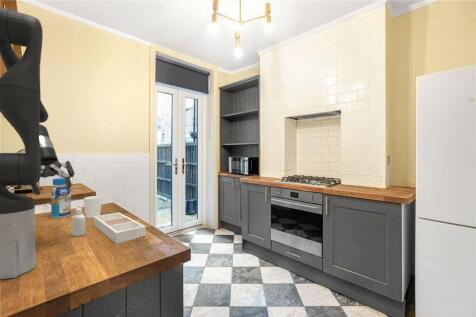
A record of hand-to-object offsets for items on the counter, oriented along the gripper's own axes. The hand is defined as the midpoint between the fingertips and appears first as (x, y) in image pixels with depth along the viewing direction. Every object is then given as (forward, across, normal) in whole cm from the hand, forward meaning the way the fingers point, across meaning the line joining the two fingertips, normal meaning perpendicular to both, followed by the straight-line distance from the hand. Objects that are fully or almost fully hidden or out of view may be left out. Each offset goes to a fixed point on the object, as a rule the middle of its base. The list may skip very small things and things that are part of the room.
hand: (54, 191), depth 79 cm
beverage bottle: (-5, +9, +52) cm, 53 cm away
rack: (+19, +19, +13) cm, 30 cm away
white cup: (+3, +20, +42) cm, 47 cm away
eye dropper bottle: (+14, +6, +18) cm, 24 cm away
